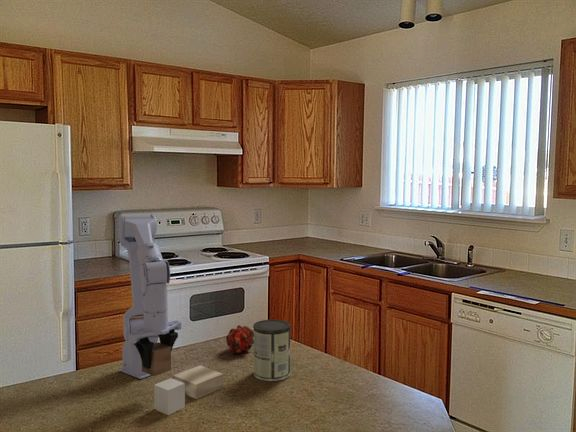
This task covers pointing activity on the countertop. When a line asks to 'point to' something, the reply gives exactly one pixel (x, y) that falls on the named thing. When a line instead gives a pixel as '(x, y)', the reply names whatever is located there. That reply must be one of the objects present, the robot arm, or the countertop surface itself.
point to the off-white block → (169, 396)
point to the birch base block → (200, 381)
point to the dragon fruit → (240, 339)
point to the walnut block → (159, 359)
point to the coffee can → (272, 350)
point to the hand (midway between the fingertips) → (156, 364)
